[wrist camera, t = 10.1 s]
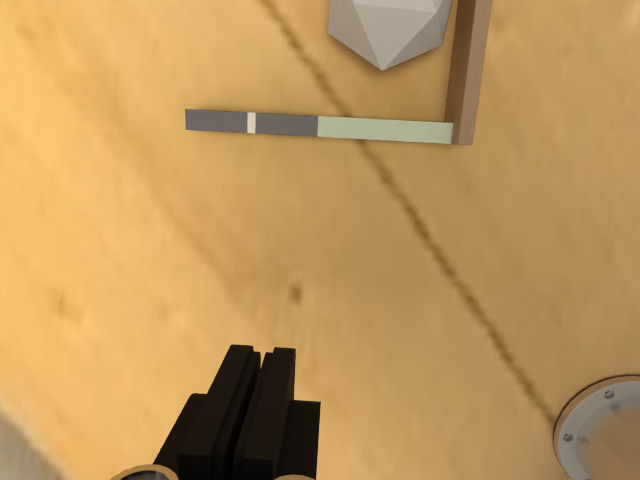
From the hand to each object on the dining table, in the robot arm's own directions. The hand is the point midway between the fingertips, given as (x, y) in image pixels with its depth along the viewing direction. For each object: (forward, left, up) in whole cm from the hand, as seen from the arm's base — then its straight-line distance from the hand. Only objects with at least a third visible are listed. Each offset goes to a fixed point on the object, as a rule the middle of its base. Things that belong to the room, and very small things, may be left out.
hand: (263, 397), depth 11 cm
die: (-5, -15, -27) cm, 32 cm away
